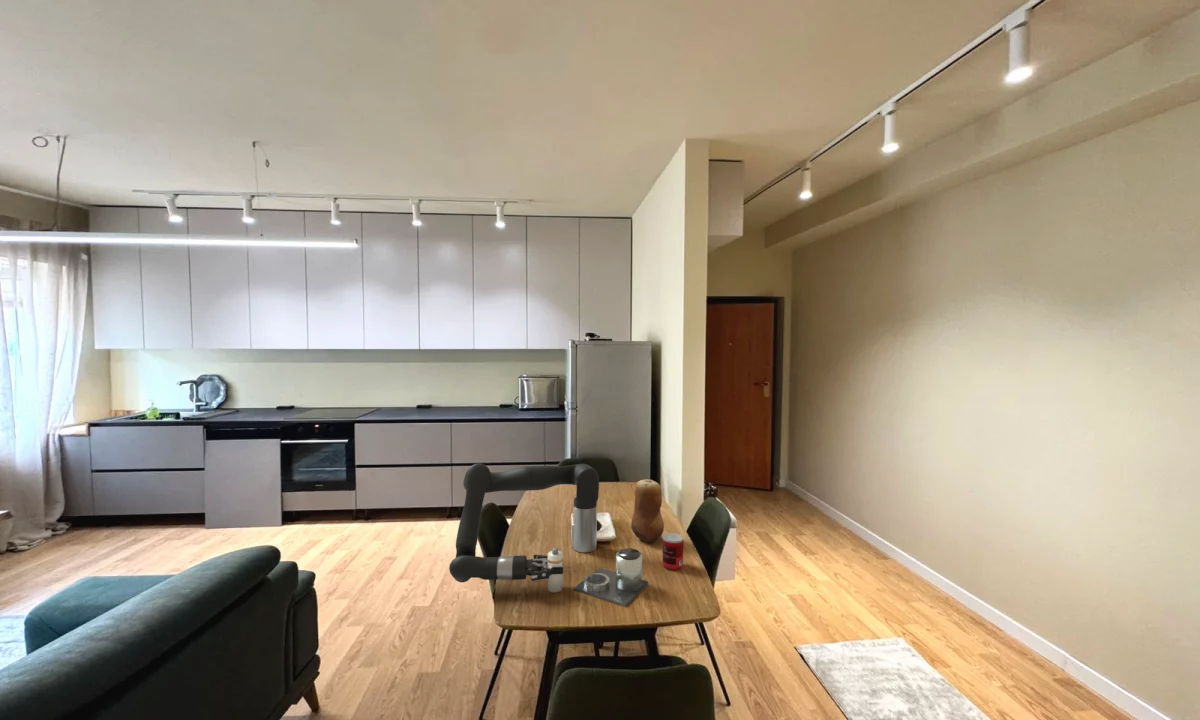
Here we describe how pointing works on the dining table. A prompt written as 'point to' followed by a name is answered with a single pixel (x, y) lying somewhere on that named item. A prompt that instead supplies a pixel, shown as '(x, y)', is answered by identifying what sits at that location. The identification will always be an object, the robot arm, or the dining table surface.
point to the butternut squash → (647, 511)
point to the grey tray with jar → (617, 579)
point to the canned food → (672, 551)
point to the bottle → (555, 579)
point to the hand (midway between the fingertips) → (562, 566)
